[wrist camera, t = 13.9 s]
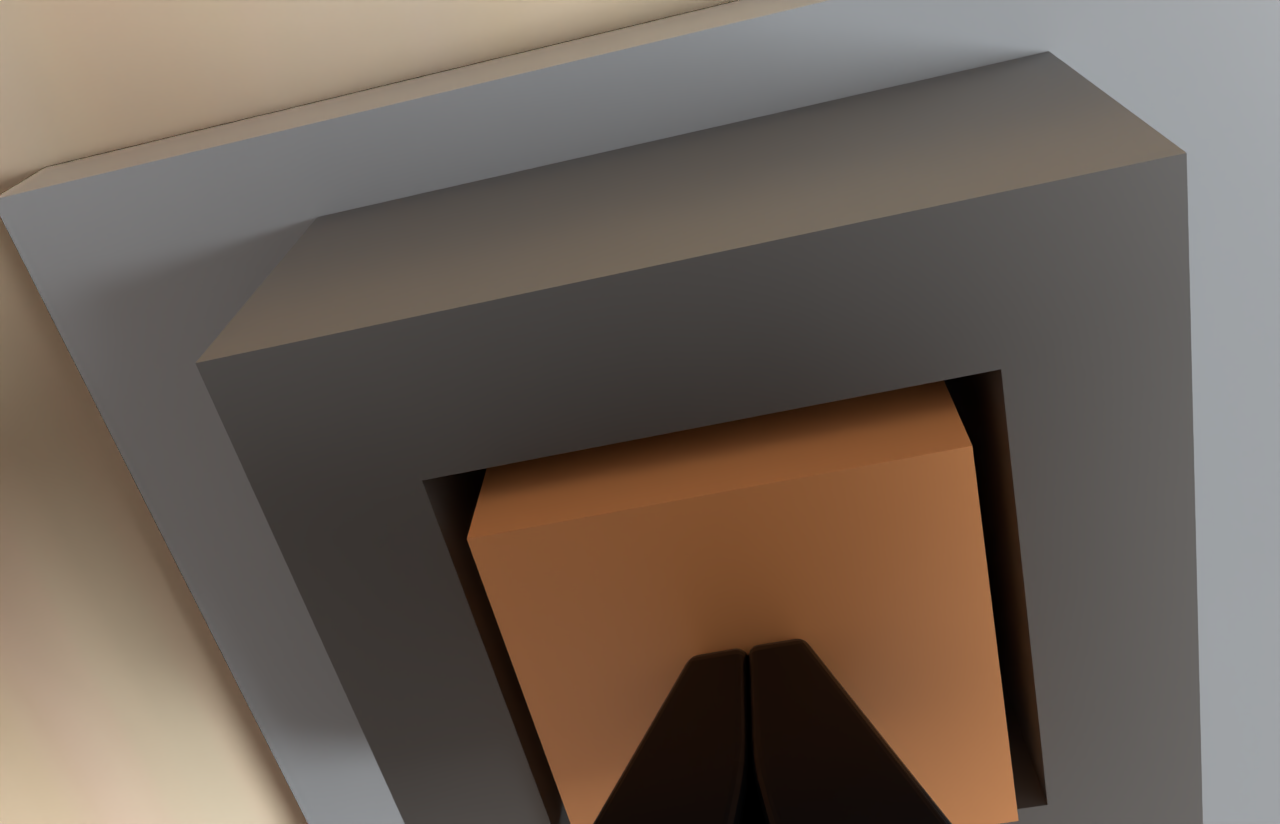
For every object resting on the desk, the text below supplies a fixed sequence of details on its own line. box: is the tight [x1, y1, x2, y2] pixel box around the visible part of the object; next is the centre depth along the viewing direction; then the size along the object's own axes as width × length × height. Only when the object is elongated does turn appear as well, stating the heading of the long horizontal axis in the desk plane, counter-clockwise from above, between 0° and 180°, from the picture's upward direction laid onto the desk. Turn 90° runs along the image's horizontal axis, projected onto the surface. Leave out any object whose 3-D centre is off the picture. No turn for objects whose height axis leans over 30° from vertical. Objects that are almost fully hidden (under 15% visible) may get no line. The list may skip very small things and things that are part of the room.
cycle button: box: [467, 380, 1019, 824], centre depth 10 cm, size 3×3×3 cm
